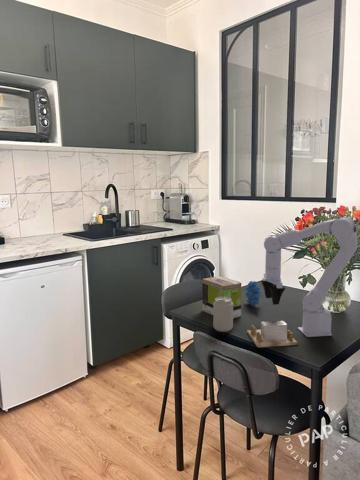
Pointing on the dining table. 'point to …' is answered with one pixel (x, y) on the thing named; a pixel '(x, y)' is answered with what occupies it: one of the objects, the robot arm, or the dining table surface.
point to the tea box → (221, 293)
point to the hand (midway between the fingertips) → (272, 300)
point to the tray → (259, 342)
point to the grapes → (253, 293)
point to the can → (223, 314)
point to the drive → (274, 331)
